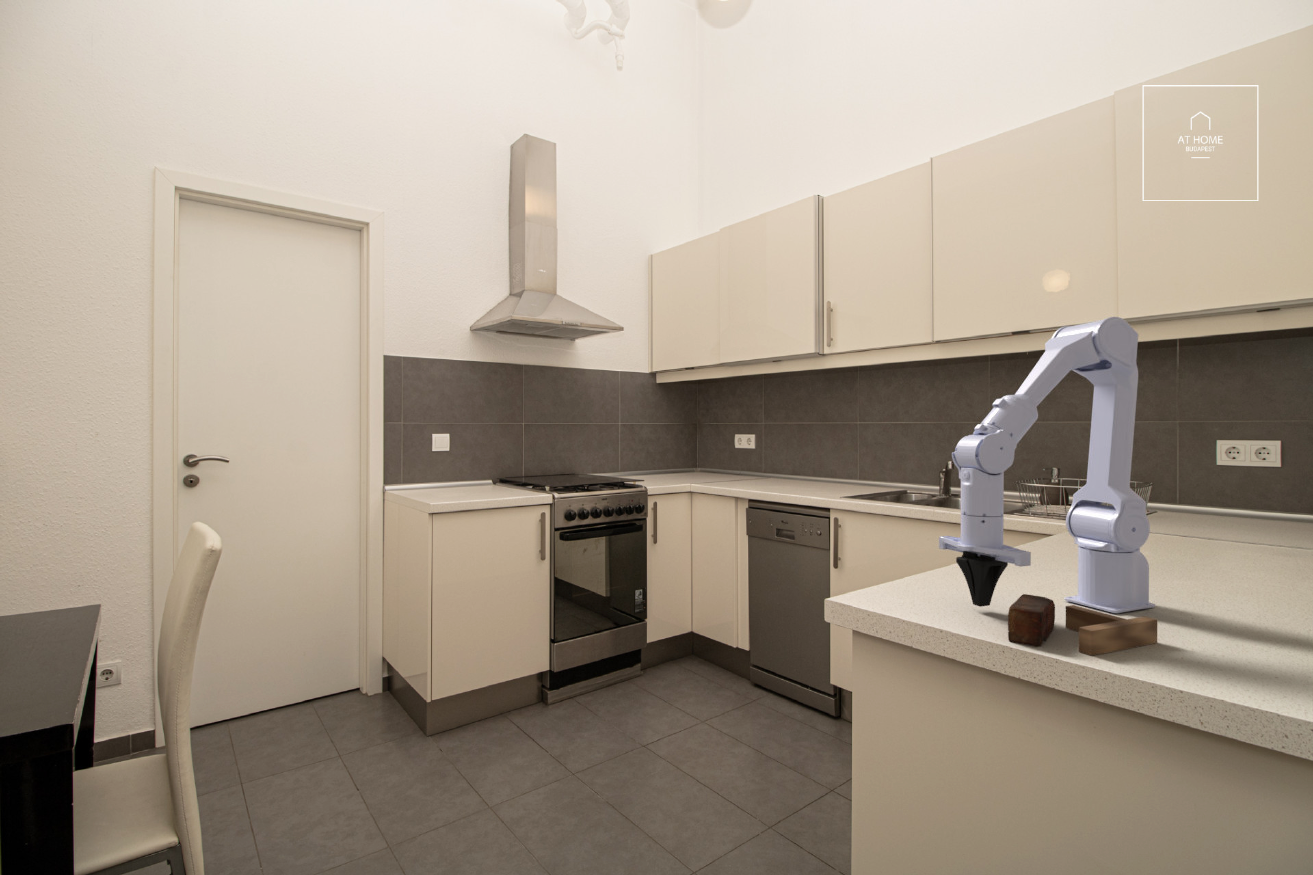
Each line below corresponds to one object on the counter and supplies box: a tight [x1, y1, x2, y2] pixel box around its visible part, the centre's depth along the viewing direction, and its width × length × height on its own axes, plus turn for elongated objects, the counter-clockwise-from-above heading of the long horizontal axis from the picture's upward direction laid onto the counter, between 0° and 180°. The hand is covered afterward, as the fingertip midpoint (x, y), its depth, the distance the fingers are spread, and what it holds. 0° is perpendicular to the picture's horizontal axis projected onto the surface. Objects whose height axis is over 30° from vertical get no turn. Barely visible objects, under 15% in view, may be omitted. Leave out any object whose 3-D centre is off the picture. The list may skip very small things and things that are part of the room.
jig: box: [1065, 604, 1158, 657], centre depth 82 cm, size 12×8×3 cm
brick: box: [1007, 593, 1056, 648], centre depth 83 cm, size 11×4×5 cm, turn 140°
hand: (981, 604), depth 94 cm, fingers closed
